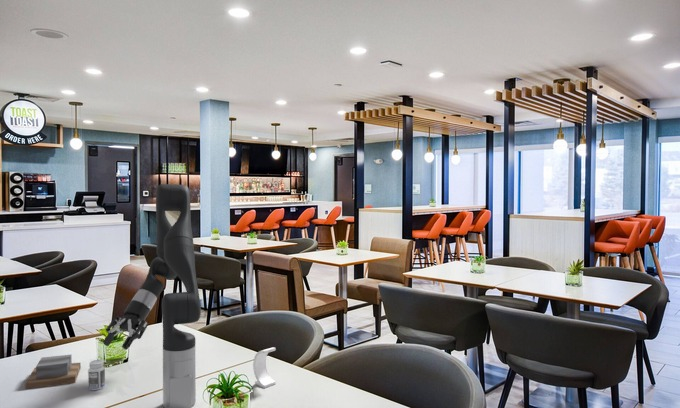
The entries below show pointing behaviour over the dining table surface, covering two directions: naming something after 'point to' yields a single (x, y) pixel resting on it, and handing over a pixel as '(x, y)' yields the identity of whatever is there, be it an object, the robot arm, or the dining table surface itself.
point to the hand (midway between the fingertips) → (114, 346)
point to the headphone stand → (262, 369)
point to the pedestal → (53, 372)
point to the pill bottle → (96, 375)
